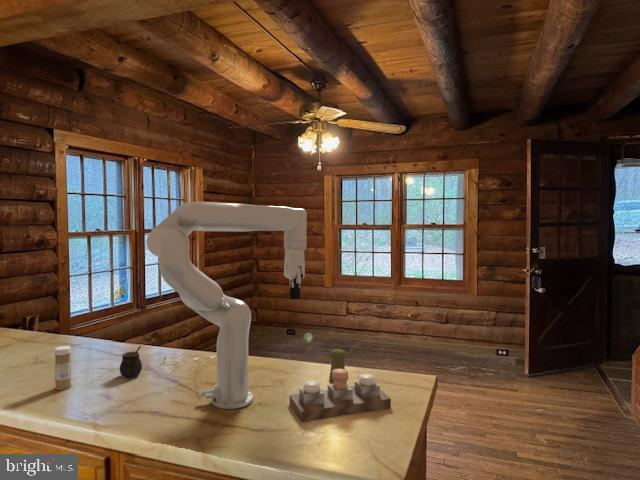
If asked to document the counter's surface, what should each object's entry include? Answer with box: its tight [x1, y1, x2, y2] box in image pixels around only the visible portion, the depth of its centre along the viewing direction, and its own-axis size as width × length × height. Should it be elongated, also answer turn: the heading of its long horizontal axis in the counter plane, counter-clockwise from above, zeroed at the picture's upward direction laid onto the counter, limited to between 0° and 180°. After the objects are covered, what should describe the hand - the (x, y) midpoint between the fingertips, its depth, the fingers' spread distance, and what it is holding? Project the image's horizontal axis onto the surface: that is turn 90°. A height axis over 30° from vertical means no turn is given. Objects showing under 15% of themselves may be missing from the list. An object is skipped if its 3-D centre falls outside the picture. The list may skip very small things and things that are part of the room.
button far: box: [358, 373, 376, 386], centre depth 132 cm, size 5×5×5 cm
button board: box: [289, 380, 392, 423], centre depth 129 cm, size 28×12×6 cm, turn 110°
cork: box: [328, 348, 346, 384], centre depth 149 cm, size 6×6×11 cm
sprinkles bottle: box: [53, 345, 72, 391], centre depth 140 cm, size 5×5×13 cm
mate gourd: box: [119, 345, 143, 379], centre depth 152 cm, size 7×8×10 cm
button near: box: [303, 380, 321, 394], centre depth 126 cm, size 5×5×5 cm
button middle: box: [332, 368, 349, 390], centre depth 129 cm, size 5×5×5 cm
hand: (294, 298), depth 146 cm, fingers closed
